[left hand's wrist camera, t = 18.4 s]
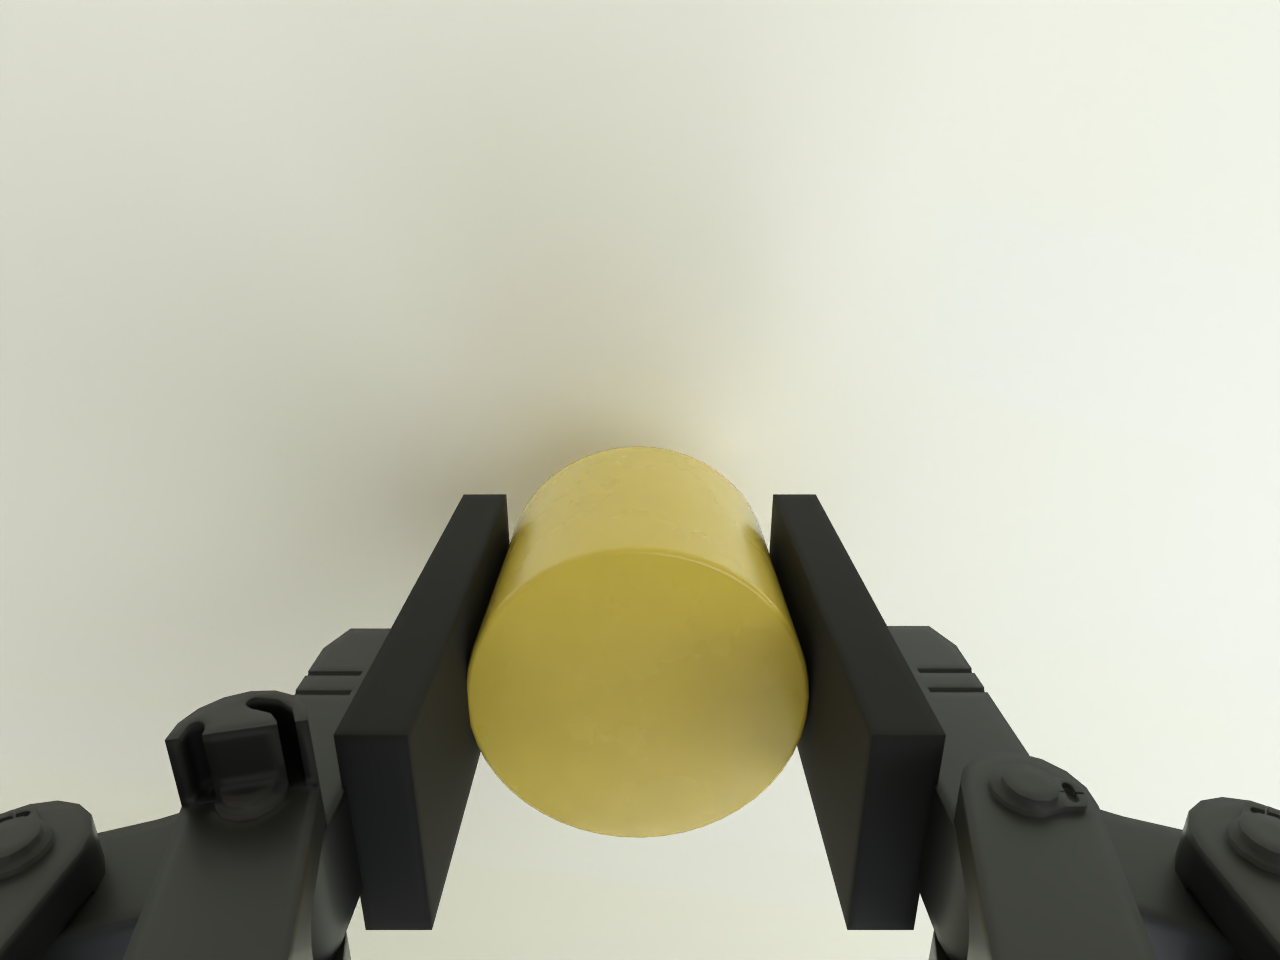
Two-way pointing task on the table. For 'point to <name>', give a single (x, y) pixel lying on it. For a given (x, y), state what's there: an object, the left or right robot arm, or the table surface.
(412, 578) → the table surface
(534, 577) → the cylinder
